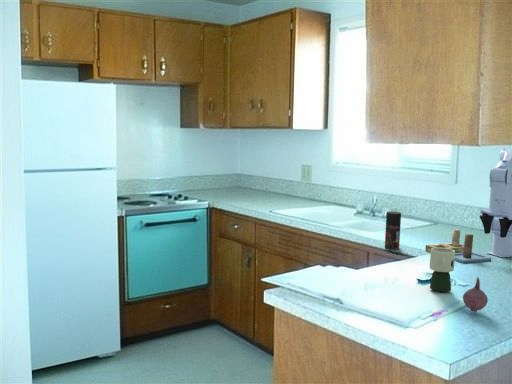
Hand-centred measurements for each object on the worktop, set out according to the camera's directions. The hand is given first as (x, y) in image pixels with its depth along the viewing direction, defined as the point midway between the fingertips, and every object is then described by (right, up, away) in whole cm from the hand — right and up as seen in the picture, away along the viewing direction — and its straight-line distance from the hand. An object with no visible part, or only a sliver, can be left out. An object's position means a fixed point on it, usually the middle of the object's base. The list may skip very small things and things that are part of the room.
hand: (495, 235), depth 203 cm
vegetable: (-31, -17, -57) cm, 67 cm away
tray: (-8, -10, +5) cm, 14 cm away
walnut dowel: (-8, -9, +5) cm, 13 cm away
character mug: (-34, -14, -37) cm, 52 cm away
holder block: (-12, -8, +17) cm, 22 cm away
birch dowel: (-8, -8, +18) cm, 22 cm away
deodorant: (-34, -7, +22) cm, 41 cm away
